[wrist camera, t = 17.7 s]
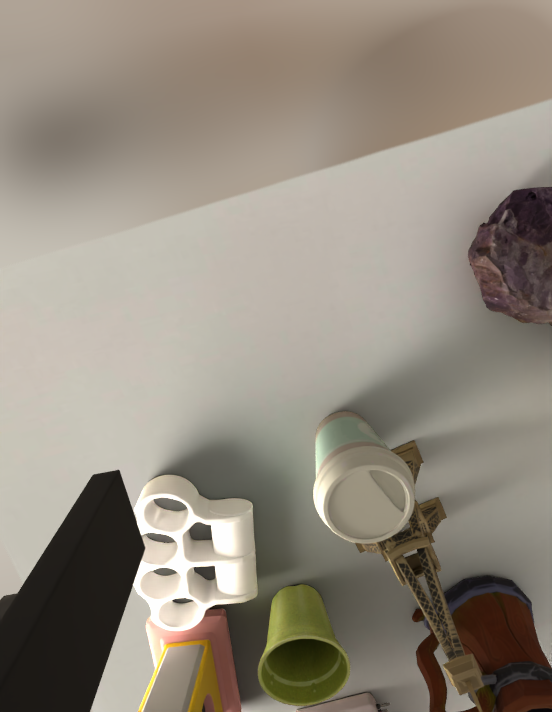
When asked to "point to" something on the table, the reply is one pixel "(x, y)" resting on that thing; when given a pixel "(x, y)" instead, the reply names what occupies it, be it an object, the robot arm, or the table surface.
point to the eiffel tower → (428, 578)
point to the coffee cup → (360, 481)
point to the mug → (492, 648)
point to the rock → (517, 256)
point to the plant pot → (301, 650)
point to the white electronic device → (349, 705)
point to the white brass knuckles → (194, 553)
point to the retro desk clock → (192, 668)
